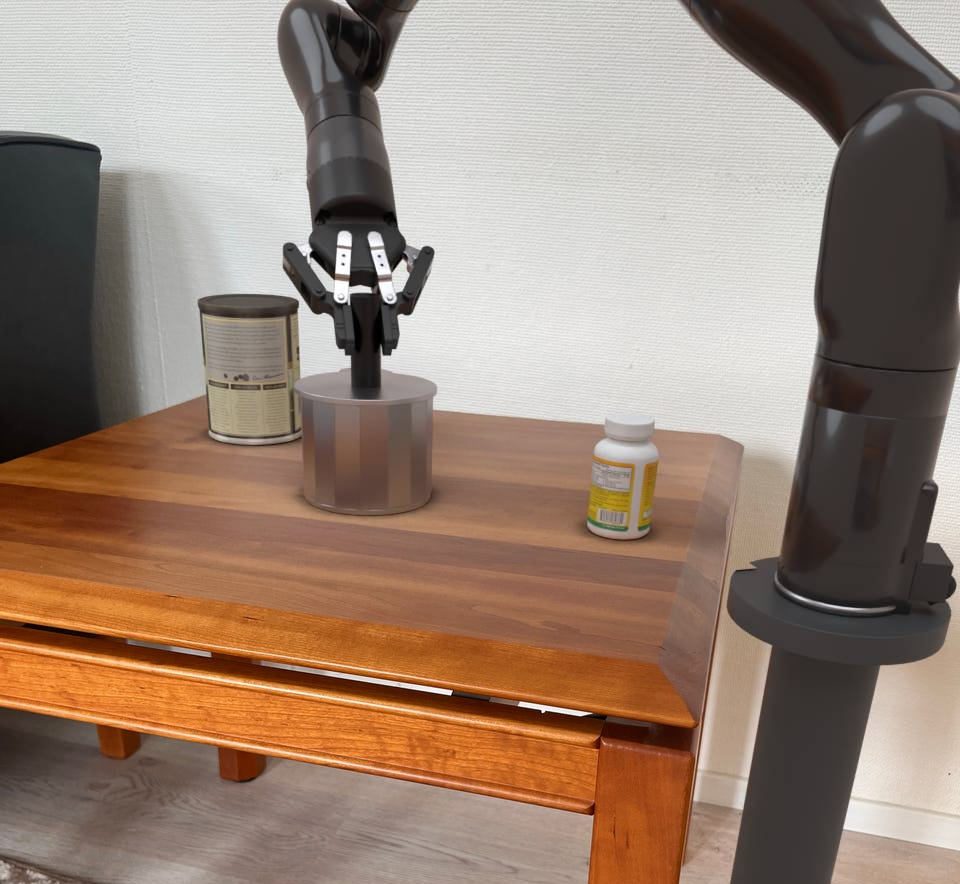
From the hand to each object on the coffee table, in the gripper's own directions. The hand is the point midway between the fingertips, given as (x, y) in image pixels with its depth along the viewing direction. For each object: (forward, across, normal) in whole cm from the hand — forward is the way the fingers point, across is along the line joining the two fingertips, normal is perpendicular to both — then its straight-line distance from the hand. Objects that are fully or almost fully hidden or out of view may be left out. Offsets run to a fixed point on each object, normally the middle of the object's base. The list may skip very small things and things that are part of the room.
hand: (369, 349), depth 86 cm
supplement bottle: (+17, +20, +2) cm, 26 cm away
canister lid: (+1, 0, +4) cm, 4 cm away
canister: (+8, 0, +11) cm, 13 cm away
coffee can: (-9, -9, +28) cm, 30 cm away
